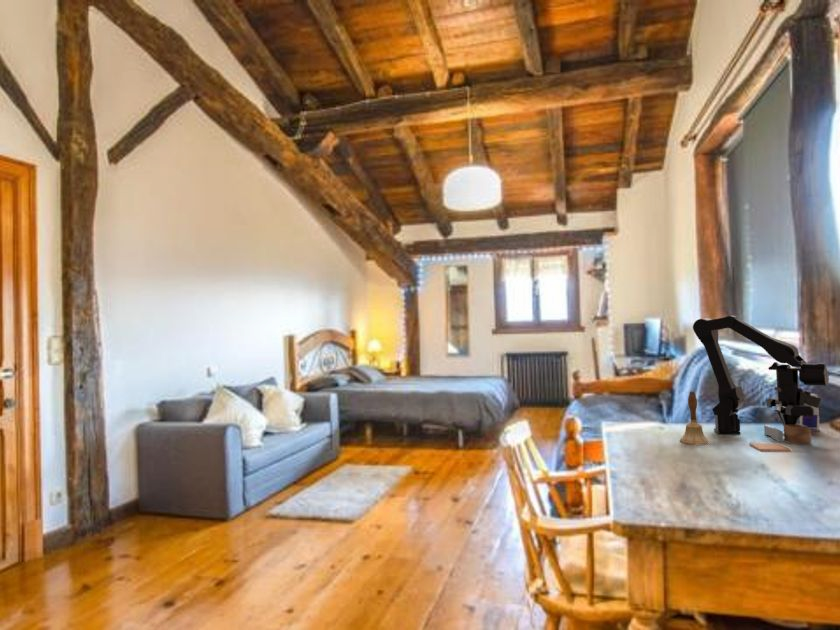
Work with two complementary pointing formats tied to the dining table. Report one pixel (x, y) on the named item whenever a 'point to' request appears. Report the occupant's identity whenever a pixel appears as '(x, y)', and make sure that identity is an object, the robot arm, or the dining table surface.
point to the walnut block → (796, 434)
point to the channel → (775, 433)
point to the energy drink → (811, 418)
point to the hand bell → (693, 425)
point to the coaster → (770, 447)
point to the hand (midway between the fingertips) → (790, 434)
